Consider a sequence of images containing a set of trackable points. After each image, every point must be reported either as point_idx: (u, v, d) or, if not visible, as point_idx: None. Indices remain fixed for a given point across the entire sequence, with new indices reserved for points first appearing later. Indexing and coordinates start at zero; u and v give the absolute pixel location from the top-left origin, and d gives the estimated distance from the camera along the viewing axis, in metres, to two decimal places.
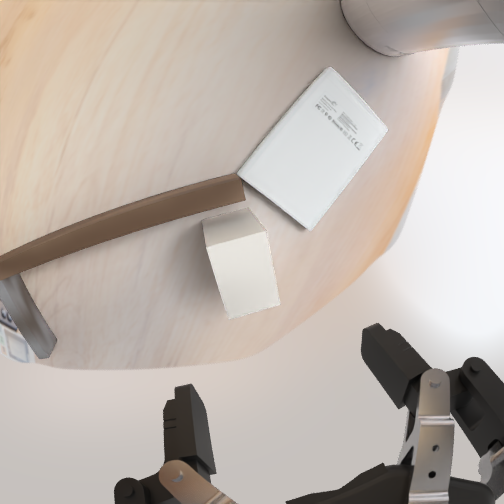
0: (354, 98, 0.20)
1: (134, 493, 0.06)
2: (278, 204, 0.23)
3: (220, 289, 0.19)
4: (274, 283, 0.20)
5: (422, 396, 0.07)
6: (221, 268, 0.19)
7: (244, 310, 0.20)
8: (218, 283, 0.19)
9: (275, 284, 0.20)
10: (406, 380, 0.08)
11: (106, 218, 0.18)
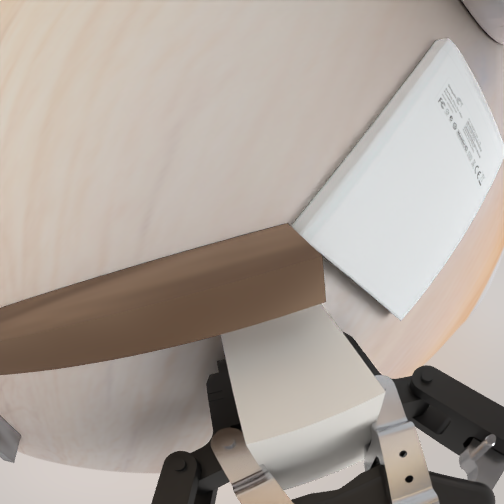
0: (479, 98, 0.09)
1: (186, 466, 0.07)
2: (367, 288, 0.11)
3: None
4: None
5: None
6: (276, 459, 0.07)
7: (304, 481, 0.08)
8: None
9: None
10: None
11: (21, 333, 0.07)
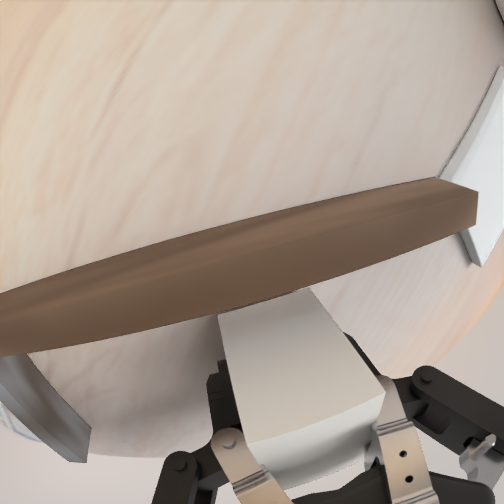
0: None
1: (186, 466, 0.07)
2: (471, 233, 0.13)
3: None
4: None
5: None
6: (276, 459, 0.07)
7: (304, 481, 0.08)
8: None
9: None
10: None
11: (256, 249, 0.08)
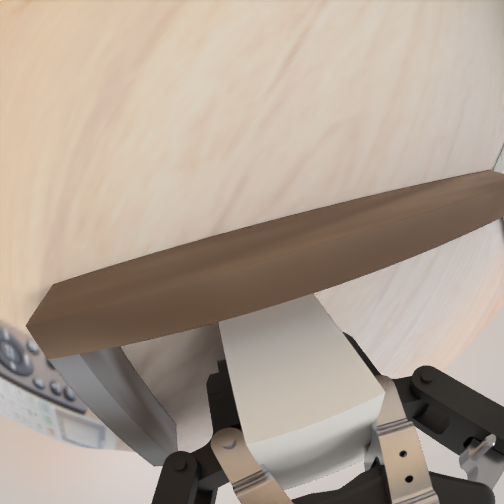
0: None
1: (186, 466, 0.07)
2: None
3: None
4: None
5: None
6: (276, 459, 0.07)
7: (304, 481, 0.08)
8: None
9: None
10: None
11: (423, 211, 0.09)
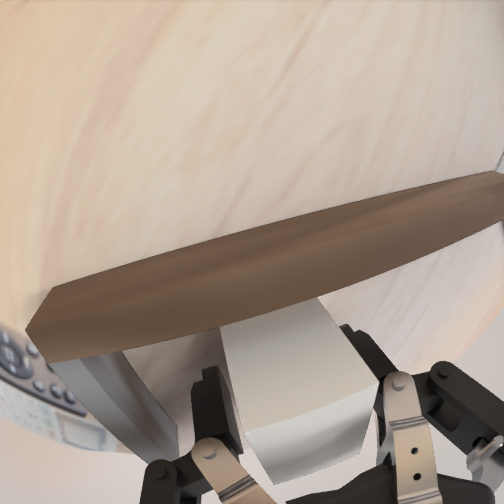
0: None
1: (167, 474, 0.07)
2: None
3: (266, 467, 0.08)
4: (361, 439, 0.08)
5: (383, 399, 0.08)
6: (273, 449, 0.07)
7: (301, 473, 0.09)
8: (263, 463, 0.08)
9: (362, 439, 0.09)
10: None
11: (427, 213, 0.09)
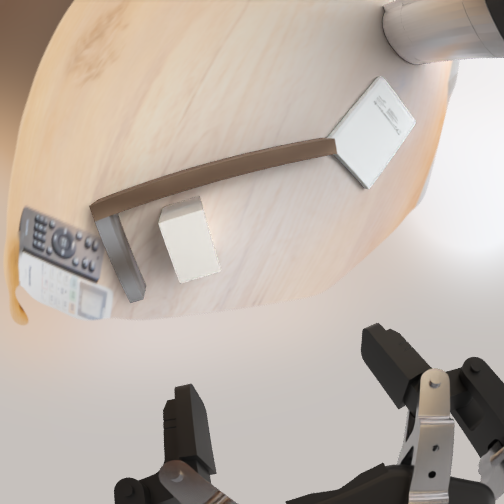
0: (396, 99, 0.28)
1: (134, 493, 0.06)
2: (350, 166, 0.30)
3: (171, 257, 0.24)
4: (214, 252, 0.25)
5: (422, 396, 0.07)
6: (170, 239, 0.23)
7: (191, 275, 0.25)
8: (169, 252, 0.24)
9: (215, 253, 0.25)
10: (406, 380, 0.08)
11: (237, 158, 0.25)
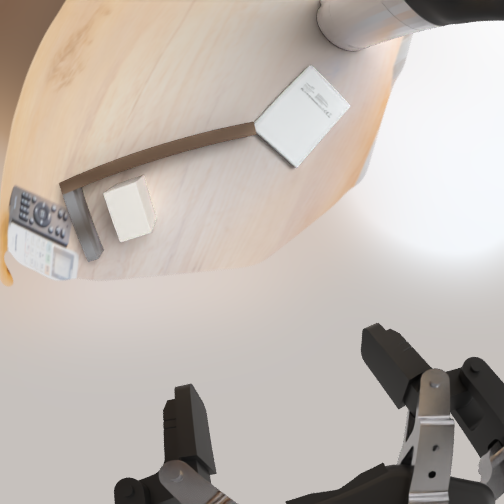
0: (326, 85, 0.32)
1: (134, 493, 0.06)
2: (275, 147, 0.34)
3: (113, 220, 0.29)
4: (144, 216, 0.29)
5: (422, 396, 0.07)
6: (112, 206, 0.28)
7: (128, 236, 0.30)
8: (111, 216, 0.28)
9: (145, 217, 0.29)
10: (406, 380, 0.08)
11: (168, 142, 0.30)
